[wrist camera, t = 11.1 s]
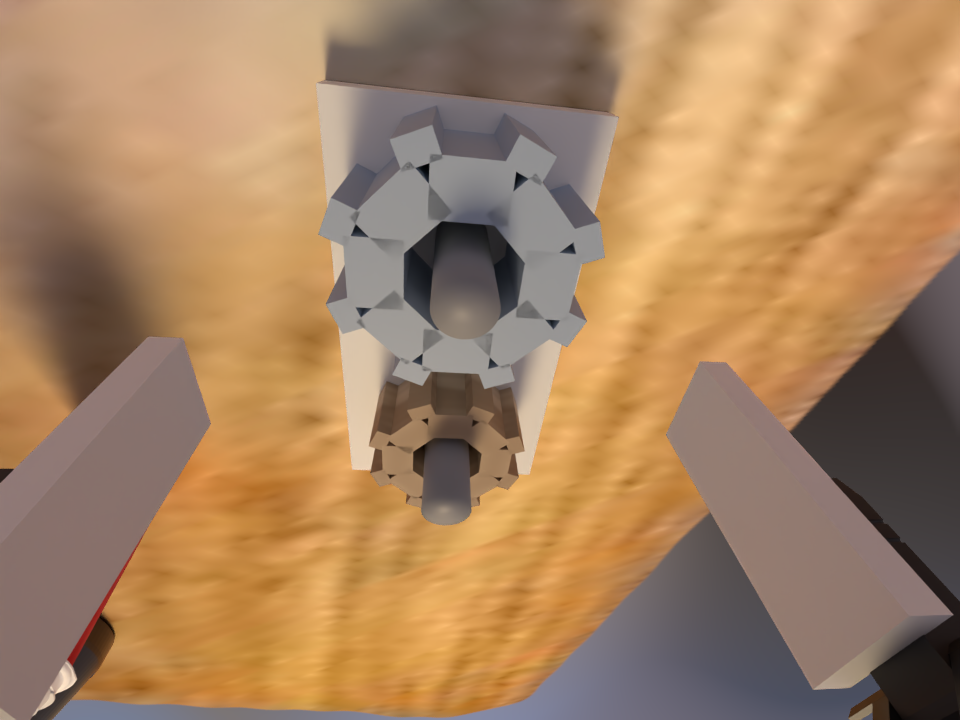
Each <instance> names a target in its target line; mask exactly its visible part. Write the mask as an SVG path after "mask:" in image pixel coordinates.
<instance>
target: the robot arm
mask: <svg viewBox="0 0 960 720" xmlns="http://www.w3.org/2000/svg"><path fill="white" fill-rule="evenodd" d="M210 424H211V423H210V420H209V416H208V413H207V410H206V407H205V404H204V401H203V398H202V395H201V392H200V389H199V386H198V383H197V380H196V376H195V373H194V370H193V367H192V364H191V361H190V358H189V355H188V352H187V349H186V346H185V343H184V340H183V338H170V337H147V338H146V339H145V340H144V341H143V342H142V343H141V344H140V345H139V346H138V347H137V348H136V349H135V350H134V351H133V352H132V353H131V354H130V355H129V356H128V357H127V358H126V359H125V360H124V361H123V362H122V363H121V364H120V365H119V366H118V367H117V368H116V369H115V370H114V371H113V372H112V373H111V374H110V375H109V376H108V377H107V378H106V379H105V380H104V381H103V382H102V383H101V384H100V385H99V386H98V387H97V388H96V389H95V390H94V391H93V392H92V393H91V394H90V395H89V396H88V397H87V398H86V399H85V400H84V401H83V402H82V403H81V404H80V405H79V406H78V407H77V408H76V409H75V410H74V411H73V412H72V413H71V414H70V415H69V416H68V417H66V418H65V419H64V420H63V421H62V422H61V423H60V424H59V425H58V426H57V427H56V428H55V429H54V430H53V431H52V432H51V433H50V434H49V435H48V436H47V437H46V438H45V439H44V440H43V441H42V442H41V443H40V444H39V445H38V446H37V447H36V448H35V449H34V450H33V451H32V452H31V453H30V454H29V455H28V456H27V457H26V458H25V459H24V460H23V461H22V462H21V463H20V464H19V465H18V466H17V467H16V468H15V469H0V720H52V719H53V718H54V717H55V716H56V715H57V714H58V713H59V712H60V711H61V709H63V707H64V706H65V705H66V704H67V703H68V702H69V701H70V700H71V699H72V698H73V696H74V695H75V694H76V693H77V692H78V691H79V690H80V689H81V687H82V686H83V685H84V684H85V683H86V682H87V681H88V679H89V678H91V677H92V676H93V675H94V674H95V673H96V672H97V670H98V669H99V668H100V666H101V664H102V663H103V661H104V659H105V657H106V656H107V654H108V652H109V650H110V648H111V647H112V645H113V643H114V635H113V632H112V630H111V629H110V627H109V626H108V625H107V624H106V623H105V622H104V621H103V620H101V619H100V618H98V620H97V622H96V623H95V625H94V627H93V629H92V631H91V633H90V634H89V636H88V638H87V640H86V642H85V644H84V645H83V647H82V649H81V651H80V653H79V655H78V656H77V658H76V660H75V662H74V664H73V668H74V671H75V674H76V677H77V680H76V682H75V683H74V684H73V685H72V686H71V687H70V688H68V689H66V690H64V691H62V692H59V693H56V694H55V700H54V702H53V703H52V704H51V705H49V706H48V707H46V708H44V709H41V710H38V712H37V713H36V714H35V715H34V716H33V714H34V713H35V711H36V710H37V708H38V706H39V705H40V703H41V701H42V700H43V698H44V696H45V695H46V693H47V692H48V690H49V688H50V687H51V685H52V683H53V682H54V680H55V678H56V677H57V675H58V673H59V672H60V670H61V669H62V667H63V665H64V664H65V662H66V660H67V659H68V657H69V655H70V654H71V652H72V651H73V649H74V647H75V646H76V644H77V642H78V641H79V639H80V637H81V636H82V634H83V632H84V631H85V629H86V628H87V626H88V624H89V623H90V621H91V619H92V618H93V616H94V614H95V613H96V611H97V610H98V608H99V606H100V605H101V603H102V601H103V600H104V598H105V596H106V595H107V593H108V592H109V590H110V588H111V587H112V585H113V583H114V582H115V580H116V578H117V577H118V575H119V573H120V572H121V570H122V569H123V567H124V565H125V564H126V562H127V560H128V559H129V557H130V555H131V554H132V552H133V551H134V549H135V547H136V546H137V544H138V542H139V541H140V539H141V537H142V536H143V534H144V533H145V531H146V529H147V528H148V526H149V524H150V523H151V521H152V519H153V518H154V516H155V514H156V513H157V511H158V510H159V508H160V506H161V505H162V503H163V501H164V500H165V498H166V496H167V495H168V493H169V492H170V490H171V488H172V487H173V485H174V483H175V482H176V480H177V478H178V477H179V475H180V474H181V472H182V470H183V469H184V467H185V465H186V464H187V462H188V460H189V459H190V457H191V455H192V454H193V452H194V451H195V449H196V447H197V446H198V444H199V442H200V441H201V439H202V437H203V436H204V434H205V433H206V431H207V429H208V428H209V426H210ZM666 436H667V438H668V439H669V441H670V443H671V445H672V446H673V448H674V450H675V452H676V453H677V455H678V457H679V458H680V460H681V462H682V464H683V465H684V467H685V469H686V471H687V472H688V474H689V476H690V477H691V479H692V481H693V483H694V484H695V486H696V488H697V490H698V491H699V493H700V495H701V496H702V498H703V500H704V502H705V503H706V505H707V507H708V509H709V510H710V512H711V514H712V515H713V517H714V519H715V521H716V522H717V524H718V526H719V527H720V529H721V531H722V532H723V534H724V536H725V538H726V540H727V541H728V543H729V545H730V546H731V548H732V550H733V552H734V553H735V555H736V557H737V559H738V561H739V562H740V564H741V566H742V567H743V569H744V571H745V573H746V574H747V576H748V578H749V579H750V581H751V583H752V585H753V586H754V588H755V590H756V592H757V593H758V595H759V597H760V598H761V600H762V602H763V603H764V605H765V607H766V609H767V610H768V612H769V614H770V616H771V617H772V619H773V621H774V623H775V625H776V626H777V628H778V630H779V631H780V633H781V635H782V636H783V638H784V640H785V642H786V643H787V645H788V647H789V649H790V650H791V652H792V654H793V656H794V657H795V659H796V661H797V663H798V664H799V666H800V668H801V670H802V671H803V673H804V675H805V676H806V678H807V680H808V682H809V683H810V685H811V687H812V689H813V690H814V689H834V688H835V689H836V688H851V687H852V686H853V685H855V684H856V683H858V682H859V681H860V680H862V679H863V678H865V677H866V676H868V675H869V674H870V673H871V675H872V676H873V678H874V679H875V681H876V682H877V684H878V685H879V686H880V688H881V689H880V690H879V691H877V692H876V693H874V694H873V695H871V696H870V697H868V698H867V699H865V700H863V701H862V702H861V703H859V704H858V705H856V706H854V707H853V708H851V711H850V714H849V718H848V719H850V720H861V719H862V718H864V717H866V716H867V715H869V714H871V713H872V712H873V720H960V601H959V600H958V599H957V598H956V597H955V596H954V595H953V594H952V593H951V592H950V591H949V590H948V588H947V587H946V586H945V585H944V584H943V583H942V582H941V581H940V580H939V579H938V578H937V577H936V576H935V575H934V573H933V572H932V571H931V570H930V569H929V568H928V567H927V566H926V565H925V564H924V563H923V562H922V561H921V560H920V559H919V557H918V556H917V555H916V554H915V553H914V552H913V551H912V550H911V549H910V548H909V547H908V546H907V545H906V543H902V542H901V541H900V537H899V536H898V535H897V534H896V533H895V532H894V531H893V530H892V529H891V527H890V526H889V525H887V524H884V523H883V519H882V518H881V517H880V516H879V515H878V513H877V512H876V511H875V510H874V509H873V508H872V507H871V506H870V505H869V504H868V503H867V502H866V501H865V500H864V499H863V497H861V496H860V495H859V494H857V493H855V492H854V491H853V490H852V489H850V488H849V487H848V486H846V485H845V484H844V483H842V482H841V481H839V480H838V479H837V478H830V477H829V476H828V475H827V474H826V473H825V472H824V471H823V470H822V468H821V467H820V466H819V465H818V464H817V463H816V462H815V461H814V459H813V458H812V457H811V456H810V455H809V454H808V453H807V452H806V451H805V449H804V448H803V447H802V446H801V445H800V444H799V443H798V442H797V441H796V439H795V438H794V437H793V436H792V435H791V434H790V433H789V432H788V431H787V429H786V428H785V427H784V426H783V425H782V424H781V423H780V422H779V421H778V419H777V418H776V417H775V416H774V415H773V414H772V413H771V412H770V411H769V409H768V408H767V407H766V406H765V405H764V404H763V403H762V402H761V401H760V399H759V398H758V397H757V396H756V395H755V394H754V393H753V392H752V391H751V389H750V388H749V387H748V386H747V385H746V384H745V383H744V382H743V381H742V379H741V378H740V377H739V376H738V375H737V374H736V373H735V372H734V371H733V369H732V368H731V367H730V366H729V365H728V364H727V363H724V362H701V361H700V363H699V365H698V367H697V369H696V371H695V374H694V376H693V378H692V380H691V382H690V384H689V386H688V389H687V391H686V393H685V395H684V397H683V399H682V401H681V404H680V406H679V408H678V410H677V412H676V414H675V416H674V419H673V421H672V423H671V425H670V427H669V429H668V431H667V434H666Z"/></svg>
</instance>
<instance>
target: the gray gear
mask: <svg viewBox="0 0 960 720" xmlns="http://www.w3.org/2000/svg"><path fill="white" fill-rule="evenodd" d="M390 142H391V145H392V148H393V150H394V153H395V157H394V158H393V159H392V160H391V161H390V162H389V163H388V164H387V165H386V166H385V167H383V168H382V169H381V170H380V171H379V172H378V173H377V174H376V173H375V172H373V171H371V170H369V169H367V168H365V167H363V166H361V165H359V164H356V165H355V167H354V168H353V169H352V171H351V172H350V173H349V174H348V176H347V177H346V178H345V180H344V181H343V182H342V184H341V185H340V186H339V188H338V189H337V190H336V192H335V193H334V194H333V195H332V197H331V199H330V202H329V204H328V207H327V210H326V213H325V216H324V219H323V222H322V225H321V228H320V231H319V234H318V235H320V236H323V237H325V238H327V239H329V240H331V241H334V242H336V243H338V244H340V245H342V246H343V249H344V262H345V265H344V267H343V269H342V271H341V273H340V275H339V278H338V280H337V282H336V284H335V286H334V288H333V290H332V292H331V294H330V296H329V299H328V301H327V303H326V306H327V307H328V309H329V311H330V313H331V314H332V316H333V318H334V320H335V321H336V323H337V325H338V327H339V328H340V330H341V332H342V334H345V333H348V332H351V331H355V330H358V329H362V328H364V329H365V330H366V331H367V332H369V333H370V334H371V335H372V336H373V337H374V338H376V339H377V340H378V341H379V342H380V343H381V344H383V345H384V346H385V347H386V348H387V349H388V350H390V351H391V352H392V353H393V354H394V355H395V356H396V357H395V362H394V368H393V374H392V375H394V376H397V377H399V378H402V379H405V380H407V381H410V382H413V383H415V384H418V385H421V386H423V384H424V383H425V381H426V379H427V377H428V376H429V374H430V372H449V373H469V374H479V376H480V379H481V381H482V384H483V387H484V389H486V388H490V387H494V386H498V385H502V384H505V383H509V382H513V381H515V378H514V373H513V368H512V364H513V363H515V362H516V361H518V360H519V359H521V358H522V357H524V356H525V355H527V354H528V353H530V352H531V351H533V350H534V349H536V348H537V347H539V346H540V345H542V344H543V343H545V342H546V341H548V340H549V339H550V340H552V341H555V342H557V343H559V344H561V345H563V346H566V347H568V345H569V344H570V343H571V342H572V340H573V339H574V338H575V336H576V335H577V334H578V332H579V331H580V330H581V329H582V327H583V326H584V325H585V323H586V322H587V320H586V318H585V316H584V314H583V312H582V310H581V308H580V306H579V304H578V302H577V299H576V297H575V295H574V291H575V287H576V283H577V279H578V275H579V271H580V267H581V264H585V263H588V262H591V261H595V260H598V259H602V258H605V255H604V248H603V240H602V233H601V226H600V221H599V220H598V219H597V217H596V216H595V215H594V214H593V212H592V211H591V210H590V209H589V208H588V206H587V205H586V204H585V203H584V201H583V200H582V199H581V198H580V196H579V195H578V194H577V193H576V192H575V190H574V189H573V188H572V187H571V185H570V184H568V185H565V186H561V187H558V188H555V189H552V190H549V188H548V187H547V186H546V184H545V183H544V179H545V177H546V175H547V174H548V172H549V170H550V169H551V167H552V165H553V164H554V162H555V160H556V158H557V156H556V155H555V154H554V153H553V152H552V150H551V149H550V148H549V147H548V146H547V145H546V144H545V143H544V142H543V140H542V139H541V138H540V137H539V136H538V135H537V134H536V133H535V132H534V131H533V130H532V129H530V128H528V127H527V126H525V125H524V124H522V123H520V122H519V121H517V120H516V119H514V118H512V117H511V116H509V115H507V114H506V113H504V115H503V117H502V119H501V121H500V123H499V125H498V127H497V129H496V131H495V133H494V134H486V133H477V132H467V131H458V130H448V129H444V127H443V124H442V121H441V118H440V114H439V111H438V108H437V105H436V106H433V107H430V108H427V109H424V110H422V111H419V112H416V113H413V114H410V115H407V116H405V117H403V119H402V120H401V122H400V123H399V125H398V127H397V128H396V130H395V131H394V133H393V135H392V136H391V138H390ZM441 221H448V222H460V223H472V224H483V225H494V226H495V227H496V228H497V229H498V230H499V232H500V233H501V234H502V235H503V237H504V238H505V239H506V240H507V246H506V253H505V257H503V258H502V259H501V260H499V261H498V262H497V263H496V264H494V265H493V266H494V271H495V277H496V282H497V288H498V293H499V298H500V304H501V312H500V316H499V319H498V321H497V323H496V324H495V326H494V327H493V328H492V329H491V330H490V331H489V332H487V333H486V334H484V335H482V336H480V337H477V338H474V339H456V338H453V337H450V336H448V335H446V334H444V333H443V332H441V331H440V330H439V329H438V328H437V327H436V325H435V324H434V322H433V320H432V318H431V314H430V300H431V287H432V275H433V270H432V269H431V267H430V266H429V265H428V264H427V263H426V262H425V261H424V260H423V259H422V258H421V257H420V256H419V255H418V254H417V253H416V252H415V251H414V250H413V245H414V244H416V243H417V242H418V241H419V240H420V239H421V238H423V237H424V236H425V235H426V234H427V233H428V232H430V231H431V230H432V229H433V228H434V227H435V226H437V225H438V224H439V223H440V222H441Z"/></svg>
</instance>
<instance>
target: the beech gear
mask: <svg viewBox="0 0 960 720" xmlns="http://www.w3.org/2000/svg"><path fill="white" fill-rule="evenodd" d="M434 438H451V439H464V440H465V441H467V442H468V443H469V465H470V489H471V507H474V506H479V505H480V500H479V496H481V495H482V494H484V493H486V492H488V491H490V490H491V489H493V488H495V487H497V486H498V487H501V488H504V489H507V490H508V489H509V488H510V487H511V486H512V484H513V483H514V482H515V481H516V480H517V479H518V477H519V475H518V469H517V462H516V456H515V454H516V453H520V452H524V451H525V450H524V445H523V439H522V433H521V428H520V422H519V416H518V411H517V405H516V401H515V398H514V395H513V392H512V389H511V387H510V388H506V389H502V390H498V389H497V388H496V387H495V386H494V387H490V388H486V389H484V387H483V384H482V381H481V379H480V376H479V374H469V373H449V372H430V374H429V376H428V377H427V379H426V381H425V383H424V384H423V386H421V385H418V384H415V383H413V382H410V381H407V380H405V381H404V382H403V383H401V384H400V385H395V384H393V383H390V382H387V381H386V383H385V385H384V387H383V389H382V391H381V393H380V395H379V398H378V403H377V408H376V413H375V418H374V423H373V428H372V433H371V437H370V442H369V447H373V448H375V451H374V456H373V461H372V467H371V472H370V473H371V475H372V476H373V478H374V479H375V481H376V482H377V484H378V485H379V487H380V486H384V485H388V484H393V485H394V486H396V487H397V488H399V489H400V490H402V491H403V492H405V493H406V494H407V499H406V504H409V505H412V506H416V507H420V508H421V506H422V490H423V475H424V459H425V444H426V443H427V442H429V441H430V440H432V439H434Z"/></svg>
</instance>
